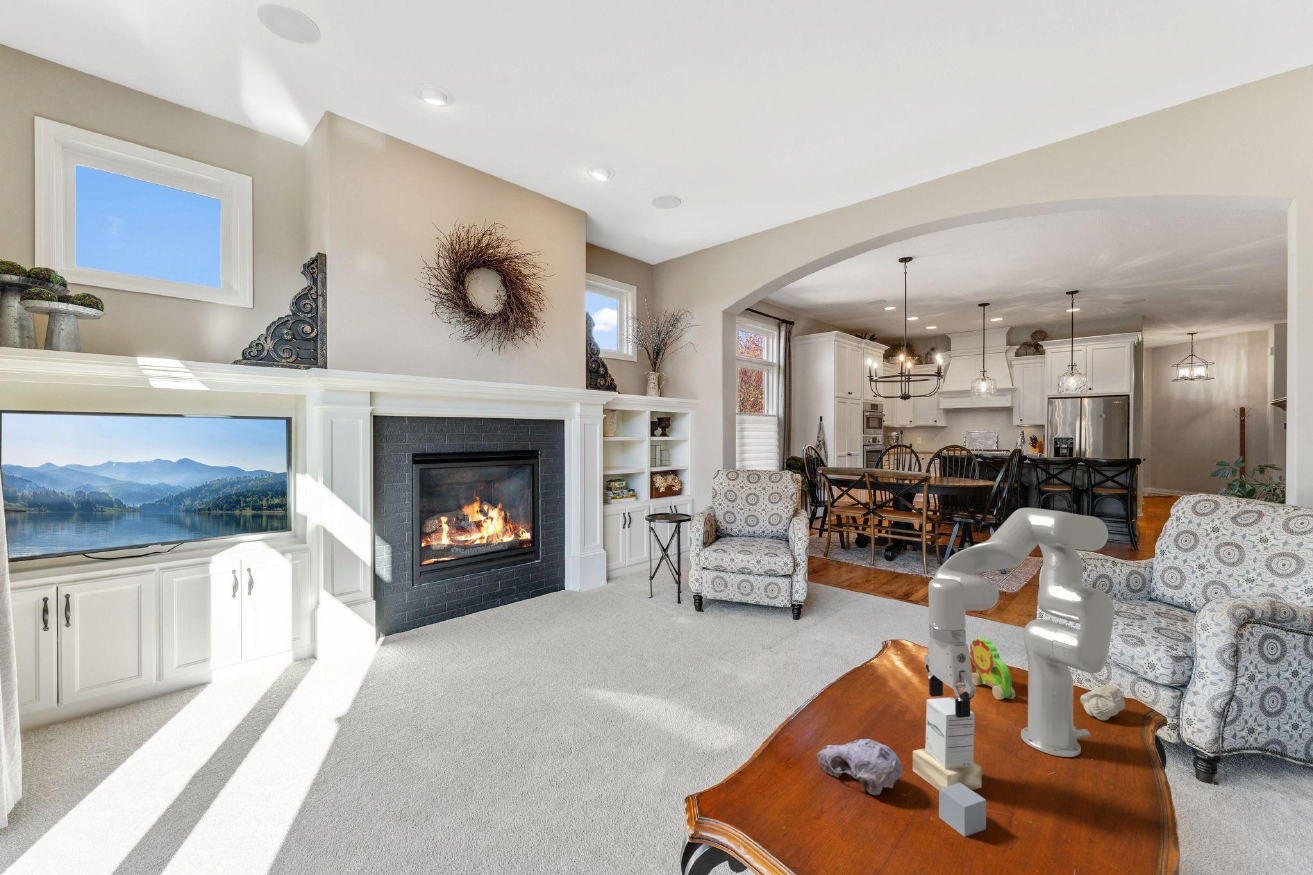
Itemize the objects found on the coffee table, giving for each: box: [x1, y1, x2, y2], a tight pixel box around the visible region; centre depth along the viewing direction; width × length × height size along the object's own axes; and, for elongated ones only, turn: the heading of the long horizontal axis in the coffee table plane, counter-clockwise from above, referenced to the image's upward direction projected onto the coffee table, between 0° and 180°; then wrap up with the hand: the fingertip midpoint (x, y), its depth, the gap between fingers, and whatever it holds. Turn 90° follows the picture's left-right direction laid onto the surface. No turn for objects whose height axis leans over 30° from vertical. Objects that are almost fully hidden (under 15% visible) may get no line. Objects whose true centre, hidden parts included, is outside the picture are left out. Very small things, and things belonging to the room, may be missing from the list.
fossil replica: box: [1079, 686, 1126, 721], centre depth 156 cm, size 12×8×10 cm
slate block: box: [938, 783, 987, 838], centre depth 112 cm, size 6×6×6 cm
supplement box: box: [924, 697, 976, 769], centre depth 127 cm, size 7×7×13 cm
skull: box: [816, 738, 903, 796], centre depth 127 cm, size 19×12×10 cm, turn 36°
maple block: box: [912, 747, 982, 791], centre depth 127 cm, size 10×10×5 cm
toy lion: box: [969, 637, 1016, 701], centre depth 172 cm, size 16×5×15 cm, turn 6°
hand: (949, 705), depth 127 cm, fingers open, 9 cm apart
